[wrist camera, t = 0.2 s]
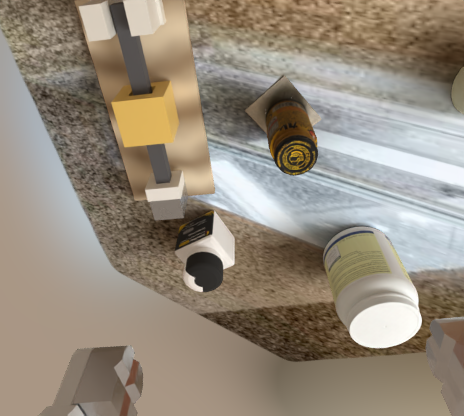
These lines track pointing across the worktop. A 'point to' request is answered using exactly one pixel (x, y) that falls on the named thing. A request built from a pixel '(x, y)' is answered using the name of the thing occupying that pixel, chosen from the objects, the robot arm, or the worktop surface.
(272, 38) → the worktop surface
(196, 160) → the board
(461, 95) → the can
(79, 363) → the robot arm
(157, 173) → the dark gray bar
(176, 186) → the white rectangular block
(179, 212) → the block
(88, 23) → the white bar support
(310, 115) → the condiment
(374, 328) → the supplement tub
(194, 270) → the medicine bottle
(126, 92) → the sleeve
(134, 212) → the worktop surface
